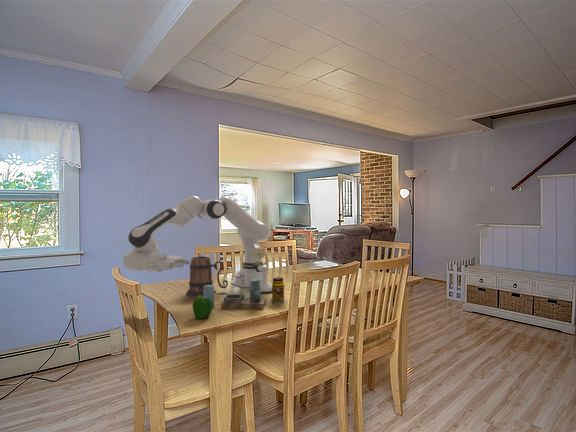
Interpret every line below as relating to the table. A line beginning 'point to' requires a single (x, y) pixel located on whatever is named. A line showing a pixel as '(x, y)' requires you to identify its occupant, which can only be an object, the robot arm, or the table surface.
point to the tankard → (202, 275)
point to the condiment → (277, 291)
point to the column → (209, 293)
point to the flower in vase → (259, 254)
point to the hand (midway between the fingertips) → (185, 263)
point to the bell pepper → (202, 307)
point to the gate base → (246, 303)
